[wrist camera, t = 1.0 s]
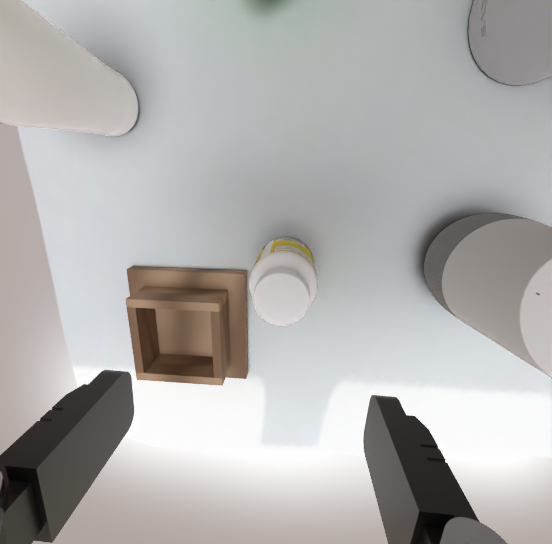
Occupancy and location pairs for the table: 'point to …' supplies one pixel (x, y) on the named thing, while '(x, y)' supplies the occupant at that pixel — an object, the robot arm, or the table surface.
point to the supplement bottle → (283, 281)
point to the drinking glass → (57, 79)
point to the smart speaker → (497, 281)
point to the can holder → (188, 324)
